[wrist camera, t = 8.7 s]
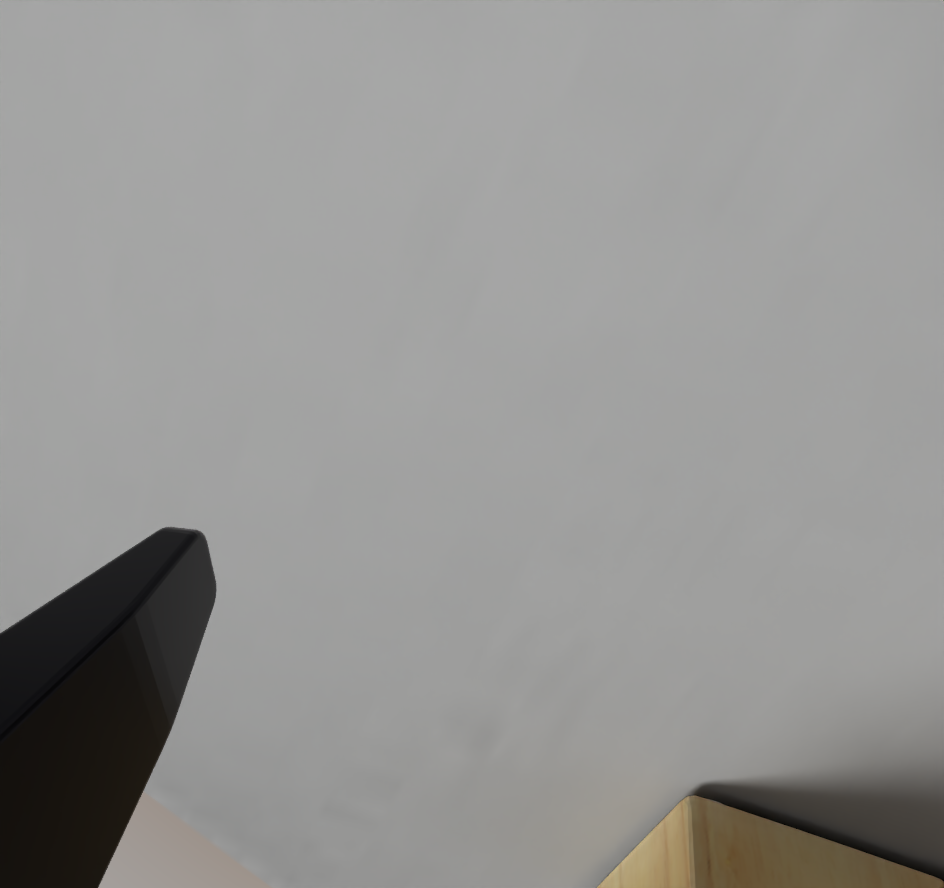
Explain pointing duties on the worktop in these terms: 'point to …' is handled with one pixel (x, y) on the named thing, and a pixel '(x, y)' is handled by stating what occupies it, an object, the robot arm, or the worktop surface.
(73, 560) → the worktop surface
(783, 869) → the knife block
